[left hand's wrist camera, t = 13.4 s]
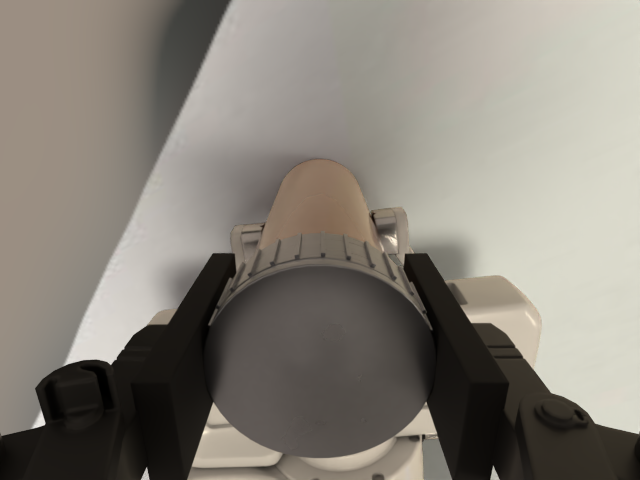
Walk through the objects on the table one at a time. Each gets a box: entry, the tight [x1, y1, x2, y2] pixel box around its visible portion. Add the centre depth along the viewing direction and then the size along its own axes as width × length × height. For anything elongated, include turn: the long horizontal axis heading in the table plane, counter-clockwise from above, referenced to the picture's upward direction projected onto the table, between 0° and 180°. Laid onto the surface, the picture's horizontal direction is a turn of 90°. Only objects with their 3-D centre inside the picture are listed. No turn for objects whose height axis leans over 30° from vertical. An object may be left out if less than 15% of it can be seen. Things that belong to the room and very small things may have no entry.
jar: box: [253, 159, 385, 255], centre depth 18 cm, size 5×5×16 cm
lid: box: [203, 231, 437, 458], centre depth 11 cm, size 6×6×2 cm
